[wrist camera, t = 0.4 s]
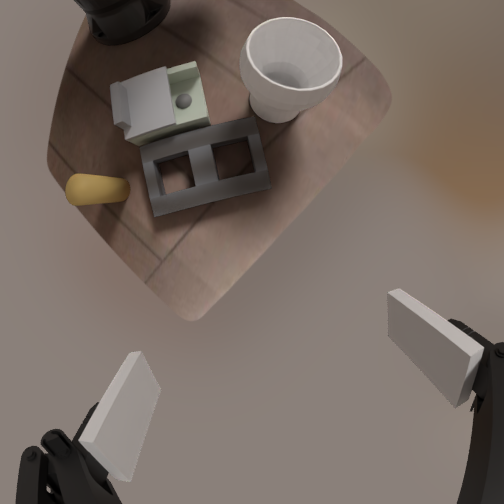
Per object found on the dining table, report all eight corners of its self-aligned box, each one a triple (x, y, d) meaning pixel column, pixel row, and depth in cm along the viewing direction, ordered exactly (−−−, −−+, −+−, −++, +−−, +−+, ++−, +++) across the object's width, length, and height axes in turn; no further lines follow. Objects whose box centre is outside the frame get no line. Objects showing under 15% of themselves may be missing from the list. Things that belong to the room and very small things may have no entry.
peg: (107, 182, 36) (63, 179, 24) (127, 175, 36) (86, 168, 24) (112, 204, 37) (68, 209, 25) (132, 198, 37) (92, 200, 25)
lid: (120, 85, 29) (109, 75, 25) (166, 68, 29) (159, 56, 25) (127, 140, 31) (115, 135, 27) (176, 124, 31) (169, 116, 27)
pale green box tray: (131, 95, 33) (120, 85, 29) (199, 73, 33) (195, 60, 29) (139, 146, 35) (128, 141, 31) (210, 125, 35) (207, 116, 31)
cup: (263, 145, 36) (277, 114, 21) (226, 87, 34) (219, 33, 19) (324, 114, 35) (367, 77, 21) (287, 60, 33) (308, 4, 19)
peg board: (146, 150, 35) (139, 147, 32) (253, 122, 35) (254, 116, 32) (160, 215, 37) (154, 217, 34) (269, 188, 37) (271, 188, 34)
